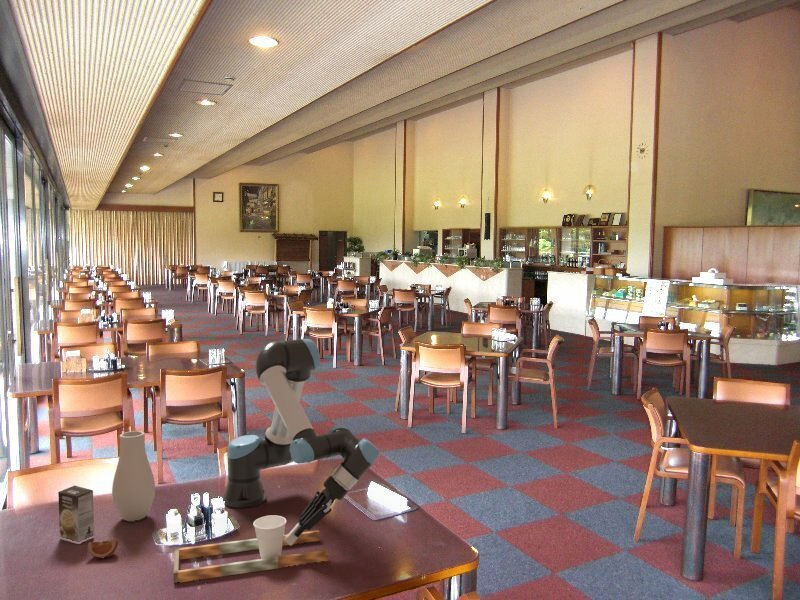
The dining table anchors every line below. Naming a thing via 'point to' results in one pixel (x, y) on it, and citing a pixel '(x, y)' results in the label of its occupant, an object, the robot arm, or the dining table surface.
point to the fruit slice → (102, 548)
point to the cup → (270, 535)
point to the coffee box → (76, 513)
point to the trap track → (244, 565)
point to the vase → (133, 478)
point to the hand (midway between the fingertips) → (287, 542)
